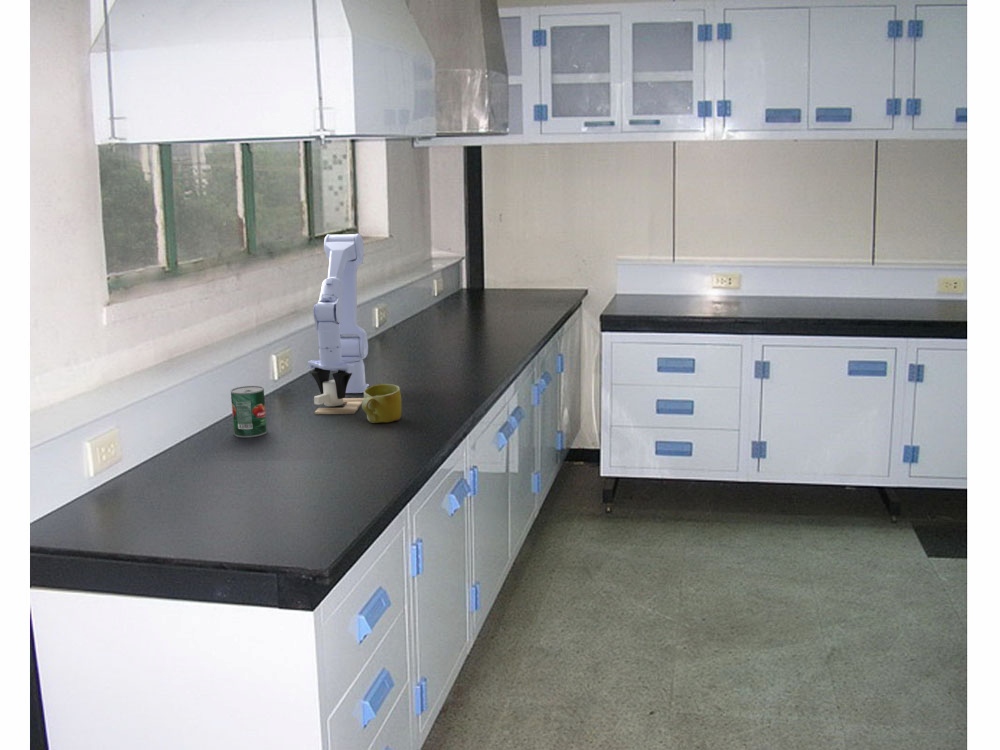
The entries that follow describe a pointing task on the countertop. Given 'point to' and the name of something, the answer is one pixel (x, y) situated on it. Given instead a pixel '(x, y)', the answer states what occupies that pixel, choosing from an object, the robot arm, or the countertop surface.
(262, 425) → the canned tomato
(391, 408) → the mug
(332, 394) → the white piece
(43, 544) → the countertop surface
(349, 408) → the dock
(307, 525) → the countertop surface
